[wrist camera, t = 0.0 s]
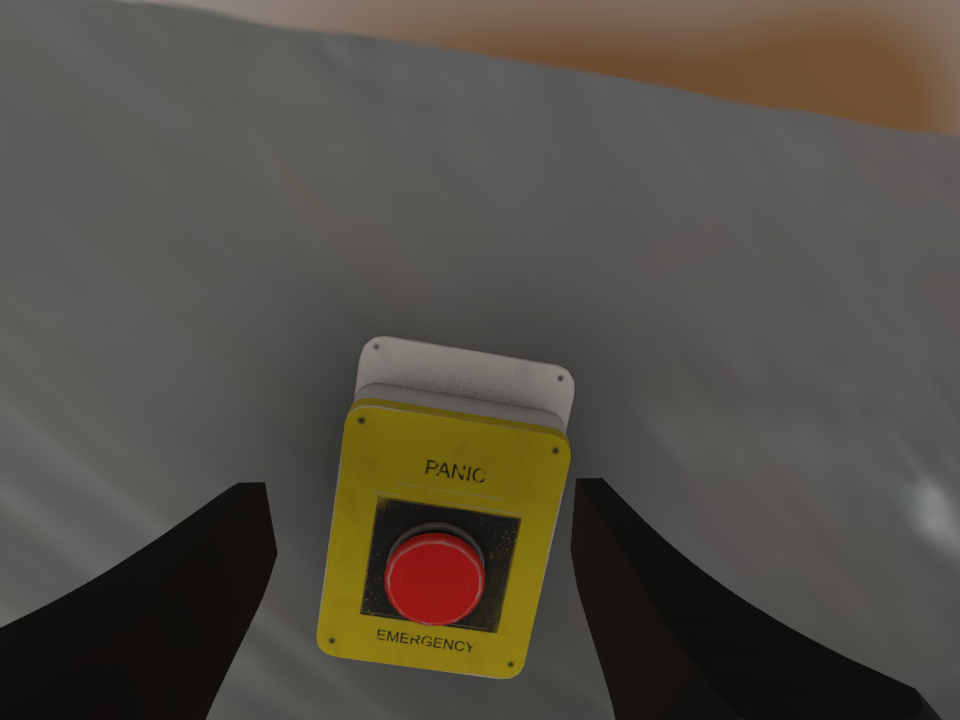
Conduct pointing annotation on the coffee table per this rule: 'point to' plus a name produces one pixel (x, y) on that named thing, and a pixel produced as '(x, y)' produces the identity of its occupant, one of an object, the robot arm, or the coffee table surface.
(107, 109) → the coffee table surface
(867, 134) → the coffee table surface
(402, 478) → the emergency button
